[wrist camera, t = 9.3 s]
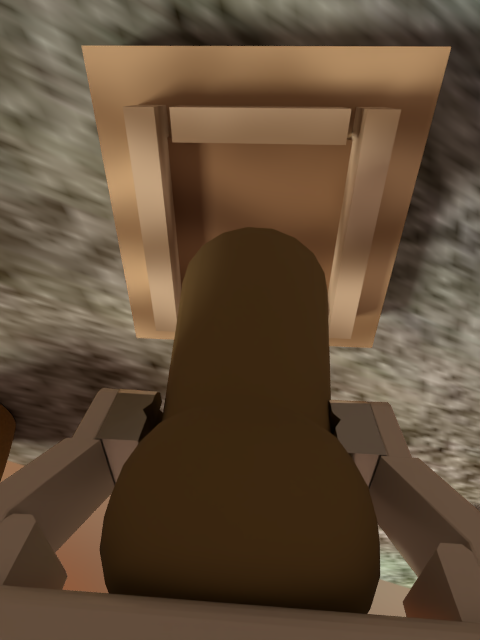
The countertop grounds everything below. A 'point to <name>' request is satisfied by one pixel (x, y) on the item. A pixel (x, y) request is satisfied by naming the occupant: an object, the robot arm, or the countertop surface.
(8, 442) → the plant pot
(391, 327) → the countertop surface
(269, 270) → the cork
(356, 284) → the display stand
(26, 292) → the countertop surface
